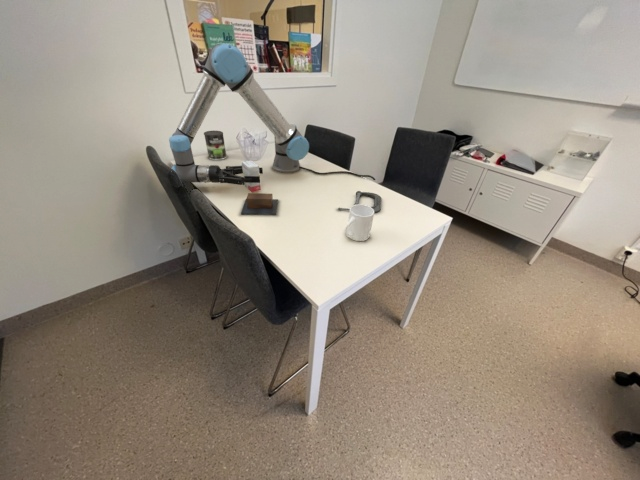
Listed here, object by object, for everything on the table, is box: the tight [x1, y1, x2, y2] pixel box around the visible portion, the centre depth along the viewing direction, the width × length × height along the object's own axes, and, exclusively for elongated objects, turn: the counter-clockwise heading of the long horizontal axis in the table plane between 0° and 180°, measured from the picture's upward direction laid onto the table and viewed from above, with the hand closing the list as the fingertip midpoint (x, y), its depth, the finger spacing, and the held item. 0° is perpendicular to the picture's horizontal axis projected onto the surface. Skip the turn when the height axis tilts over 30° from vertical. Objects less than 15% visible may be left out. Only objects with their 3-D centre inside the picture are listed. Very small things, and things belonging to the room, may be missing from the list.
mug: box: [345, 203, 375, 242], centre depth 94 cm, size 9×12×11 cm
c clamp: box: [337, 190, 382, 214], centre depth 118 cm, size 20×17×3 cm
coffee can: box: [203, 130, 228, 161], centre depth 153 cm, size 10×10×14 cm
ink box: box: [241, 160, 262, 193], centre depth 119 cm, size 9×5×12 cm, turn 35°
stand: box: [240, 192, 279, 216], centre depth 109 cm, size 14×12×6 cm
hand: (261, 174), depth 119 cm, fingers closed on ink box, 9 cm apart
